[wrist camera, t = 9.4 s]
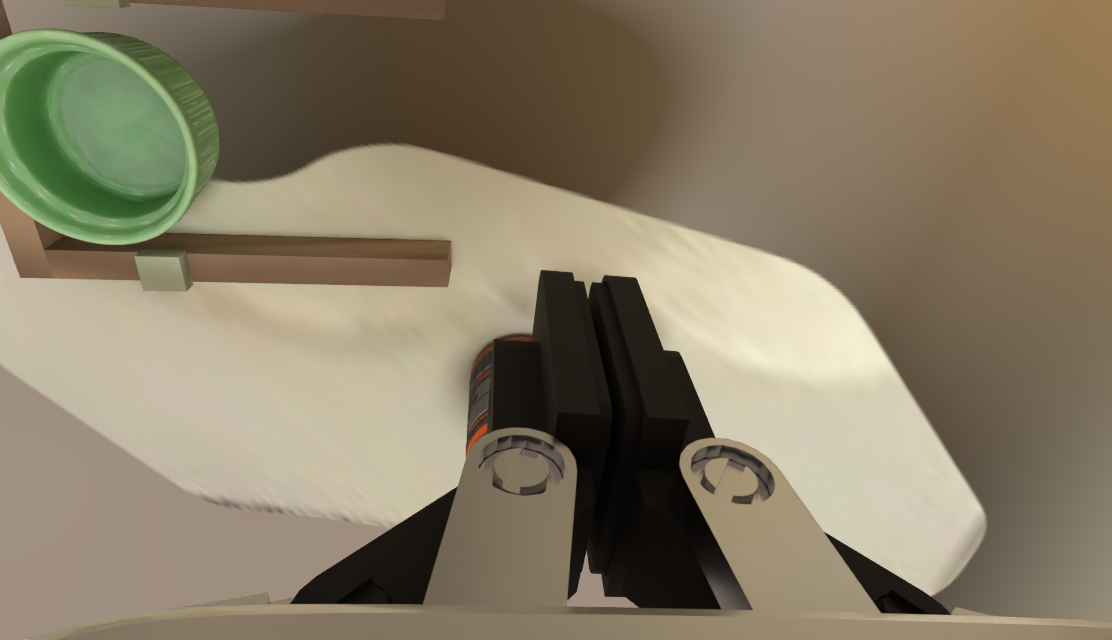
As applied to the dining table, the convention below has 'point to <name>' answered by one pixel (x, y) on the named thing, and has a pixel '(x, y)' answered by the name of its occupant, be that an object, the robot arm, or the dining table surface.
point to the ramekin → (101, 134)
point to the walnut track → (234, 256)
